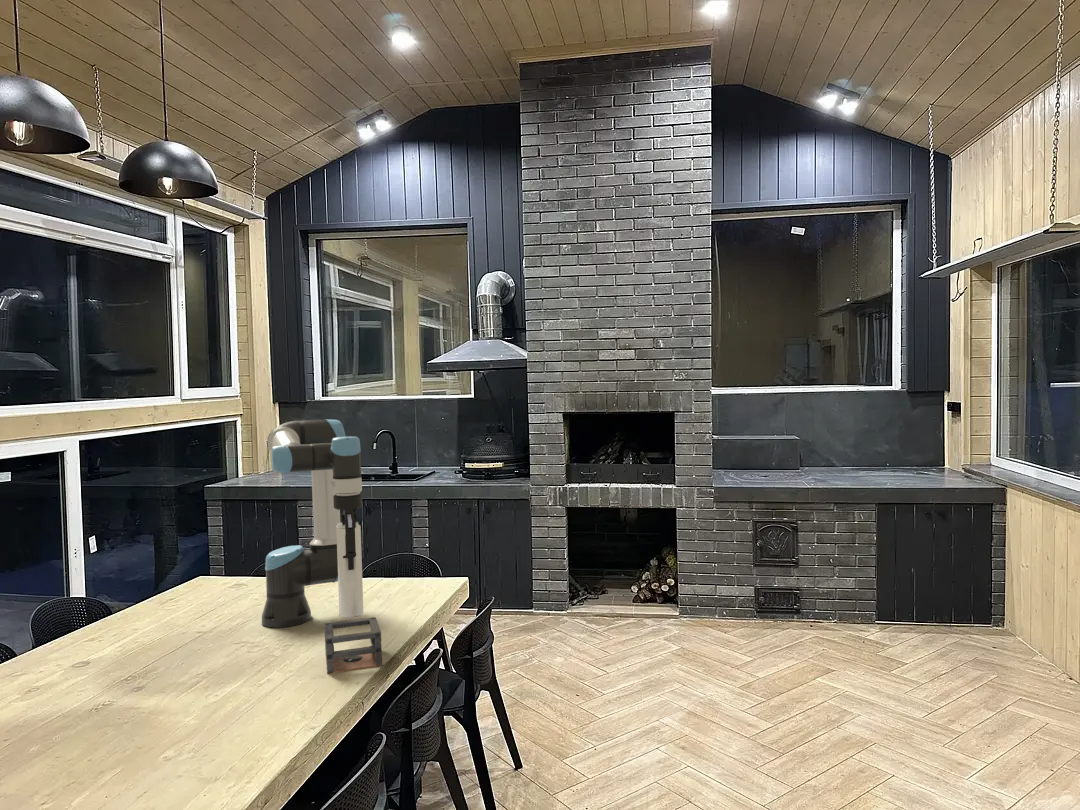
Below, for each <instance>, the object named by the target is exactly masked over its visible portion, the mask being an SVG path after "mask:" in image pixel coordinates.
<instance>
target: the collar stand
mask: <svg viewBox="0 0 1080 810" xmlns="http://www.w3.org/2000/svg"><path fill="white" fill-rule="evenodd" d="M368 625H369V627H370V630H369V631H364V632H358V633H357V632H356V633H349V634H341V635H340V634H339V635H334V630H337V629H343V628H352V627H358V626H368ZM362 640H369V641H370V645H371V646H370V645H369V646H365V647H356V648H348V649H342V650H340V649H339V650H335V648H334V647H335V645H334V644H339V643H347V642H354V641H362ZM324 644H325V645H324V646H325V648H324V649H325V661H326V662H325V663H326V673H327V675H329V674H330V675H331V674H337V673H344V672H352V671H357V670H363V669H364V670H365V669H371V668H377V667H379V668H380V667H383V656H382V655H383V653H382V631H381V628H380V626H379V622H378V620H377V617H376V616H374V617H368V618H365V617H364V618H358V619H350V620H343V621H342V620H340V621H336V622H335V621H334V622H327V623H326V622H325V623H324Z"/></svg>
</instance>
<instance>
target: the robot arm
mask: <svg viewBox="0 0 1080 810" xmlns="http://www.w3.org/2000/svg"><path fill="white" fill-rule="evenodd" d="M360 440H361V439H360V438H359V437H358V436H352V435H351V436H346V432H345V429H344V425H343V423H342V421H340V420H339V419H332V418H330V419H327V418H326V419H308V420H305V419H304V420H292V421H287V422H284V423H282V424H280V425H278V426H276V427H275V428H273V429H272V430H271V432H270V433H269V434H268V436H267V441H266V442H267V443H266V444H267V447H268V449H269V451H270V455H271V458H270V459H271V460H270V461H271V470H272V472H274V473H276V474H279V473H283V474H288V473H297V472H298V473H299V472H309V471H311V491H312V493H311V494H312V515H313V517H312V518H313V539H312V540H311V541H310V542H309V549H305V548H304V547H303V546H302V545H297V544H296V545H288V546H283V547H280V548H277V549H275V550H272V551H270V552H269V553H268V554H267V555H266V557H265V567H264V570H265V580H266V581H265V584H266V585H265V586H266V600H265V604H264V607H263V611H262V614H261V625H263V626H264V627H267V628H274V629H275V628H287V627H294V626H298V625H301V624H304V623H306V622H308V621H310V620H311V618H312V611H311V607H310V605H309V603H308V602H309V601H308V600H307V599H308V598H307V597H306V594H305V587H306V586H314V585H322V584H327V583H328V584H329V583H330V584H331V583H333V584H334V583H335V584H336V583H337V582H338V560H337V531H336V527H337V524H338V523H342V525H345V548H346V555H345V556H343V558H345V566H346V582H353V581H357V580H356V557H355V556H356V545H355V527H356V522H357V515H356V513H354V510H356V509H360V508H362V506H363V495H362V493H361V492H362V491H363V482H362V480H363V479H362V466H361V465H362V464H361V463H362V462H361V459H362V458H361V451H362V448H361V441H360ZM341 511H343V512H342V513H341Z"/></svg>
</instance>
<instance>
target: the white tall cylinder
mask: <svg viewBox="0 0 1080 810" xmlns="http://www.w3.org/2000/svg"><path fill="white" fill-rule="evenodd" d="M361 528H362V527H361V524H359V522H358V521H356V527H355V545H356V556H355V557H356V580H357V581H353V582H346V566H345V558H343V556H345V555H346V548H345V525H342V522H340V523H338V524H337V527H336V531H337V560H338V583H337V585H338V586H337V587H338V610H339V614H338V616H339V617H340V618H345V619H351V618H352V619H353V618H357V617H361V616H362V615H364V612H365V610H364V592H363V591H364V590H363V589H364V588H363V587H364V586H363V583H364V581H363V562H362V559H363V557H362V554H363V553H362V529H361Z"/></svg>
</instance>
